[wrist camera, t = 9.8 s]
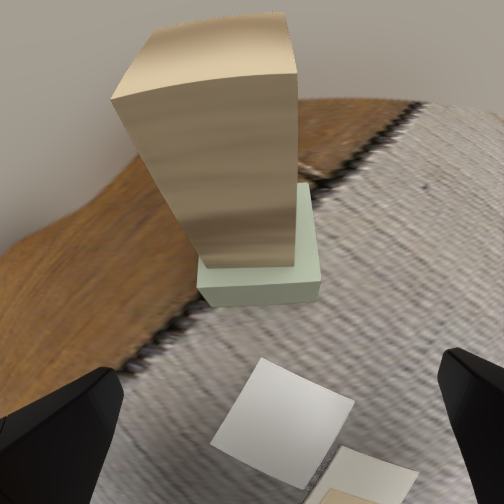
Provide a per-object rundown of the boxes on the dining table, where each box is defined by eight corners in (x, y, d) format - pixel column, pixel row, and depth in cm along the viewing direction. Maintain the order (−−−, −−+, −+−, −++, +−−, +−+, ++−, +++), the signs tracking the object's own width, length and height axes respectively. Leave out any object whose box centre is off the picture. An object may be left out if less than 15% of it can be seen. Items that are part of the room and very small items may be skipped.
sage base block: (315, 303, 20) (321, 280, 17) (212, 308, 21) (196, 287, 17) (305, 216, 23) (308, 182, 20) (216, 222, 24) (204, 190, 20)
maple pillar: (294, 266, 17) (297, 73, 6) (207, 268, 18) (110, 99, 7) (290, 194, 19) (284, 11, 9) (213, 197, 20) (154, 29, 9)
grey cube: (299, 468, 15) (303, 490, 11) (229, 433, 17) (209, 443, 12) (338, 400, 17) (355, 401, 12) (267, 367, 18) (261, 357, 14)
